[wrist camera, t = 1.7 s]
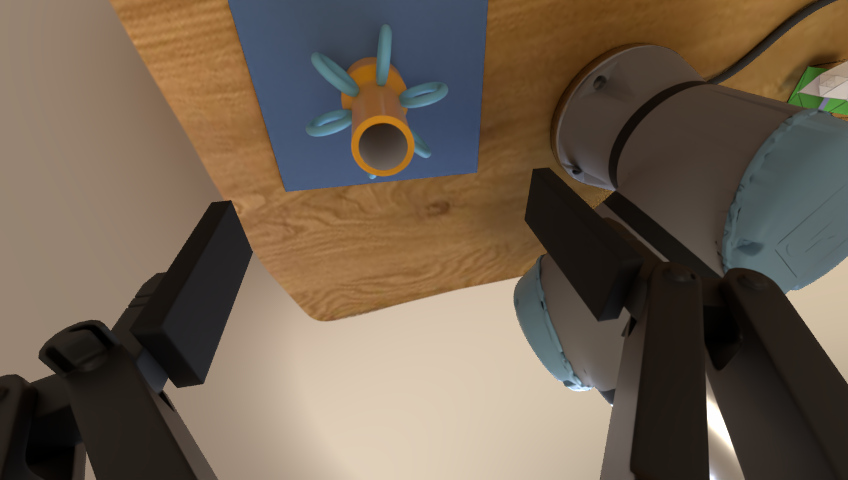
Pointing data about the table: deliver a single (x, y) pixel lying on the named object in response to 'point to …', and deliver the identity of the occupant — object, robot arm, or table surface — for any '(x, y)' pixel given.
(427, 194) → the table surface
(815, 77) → the geometric puzzle
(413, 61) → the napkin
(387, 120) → the cylinder
